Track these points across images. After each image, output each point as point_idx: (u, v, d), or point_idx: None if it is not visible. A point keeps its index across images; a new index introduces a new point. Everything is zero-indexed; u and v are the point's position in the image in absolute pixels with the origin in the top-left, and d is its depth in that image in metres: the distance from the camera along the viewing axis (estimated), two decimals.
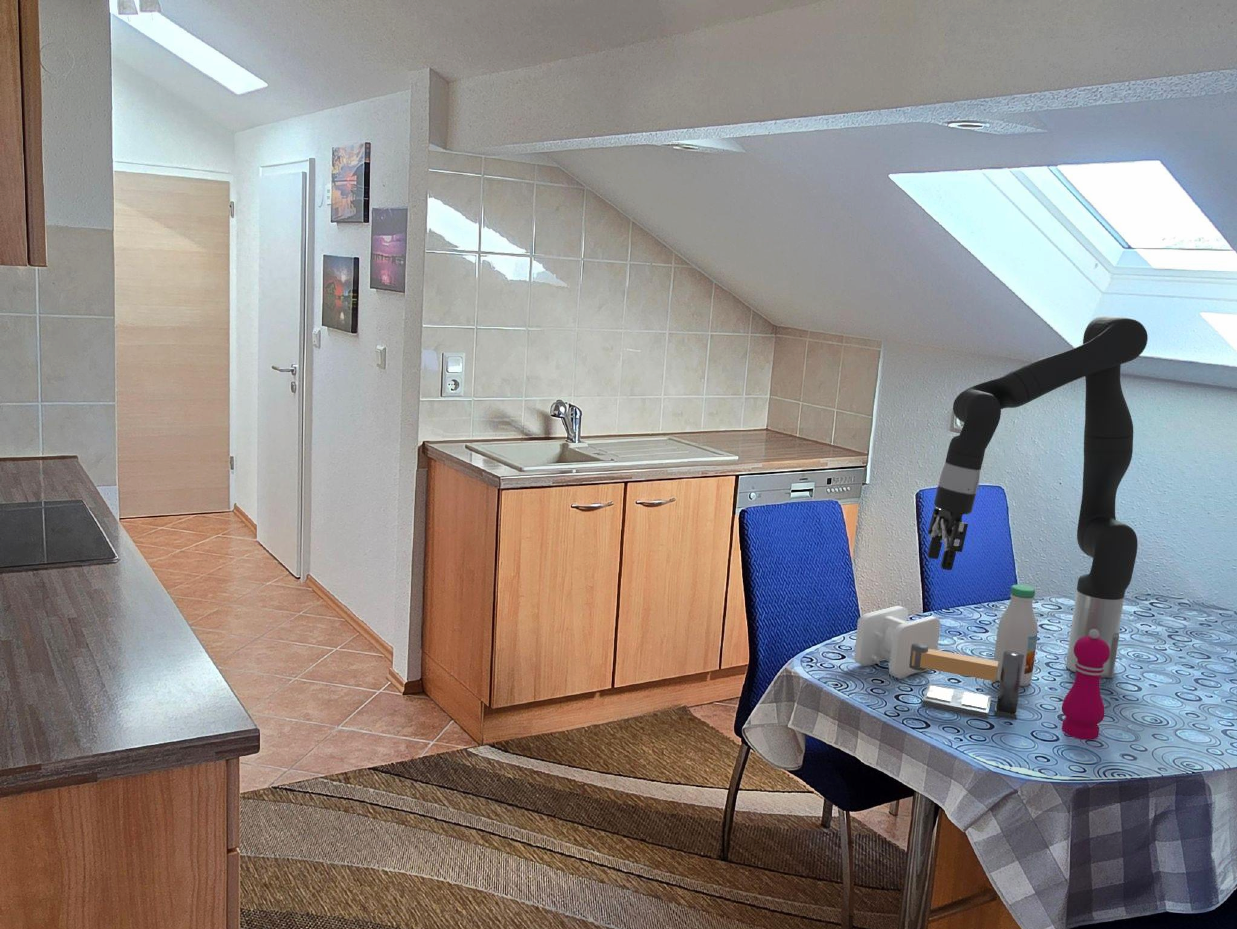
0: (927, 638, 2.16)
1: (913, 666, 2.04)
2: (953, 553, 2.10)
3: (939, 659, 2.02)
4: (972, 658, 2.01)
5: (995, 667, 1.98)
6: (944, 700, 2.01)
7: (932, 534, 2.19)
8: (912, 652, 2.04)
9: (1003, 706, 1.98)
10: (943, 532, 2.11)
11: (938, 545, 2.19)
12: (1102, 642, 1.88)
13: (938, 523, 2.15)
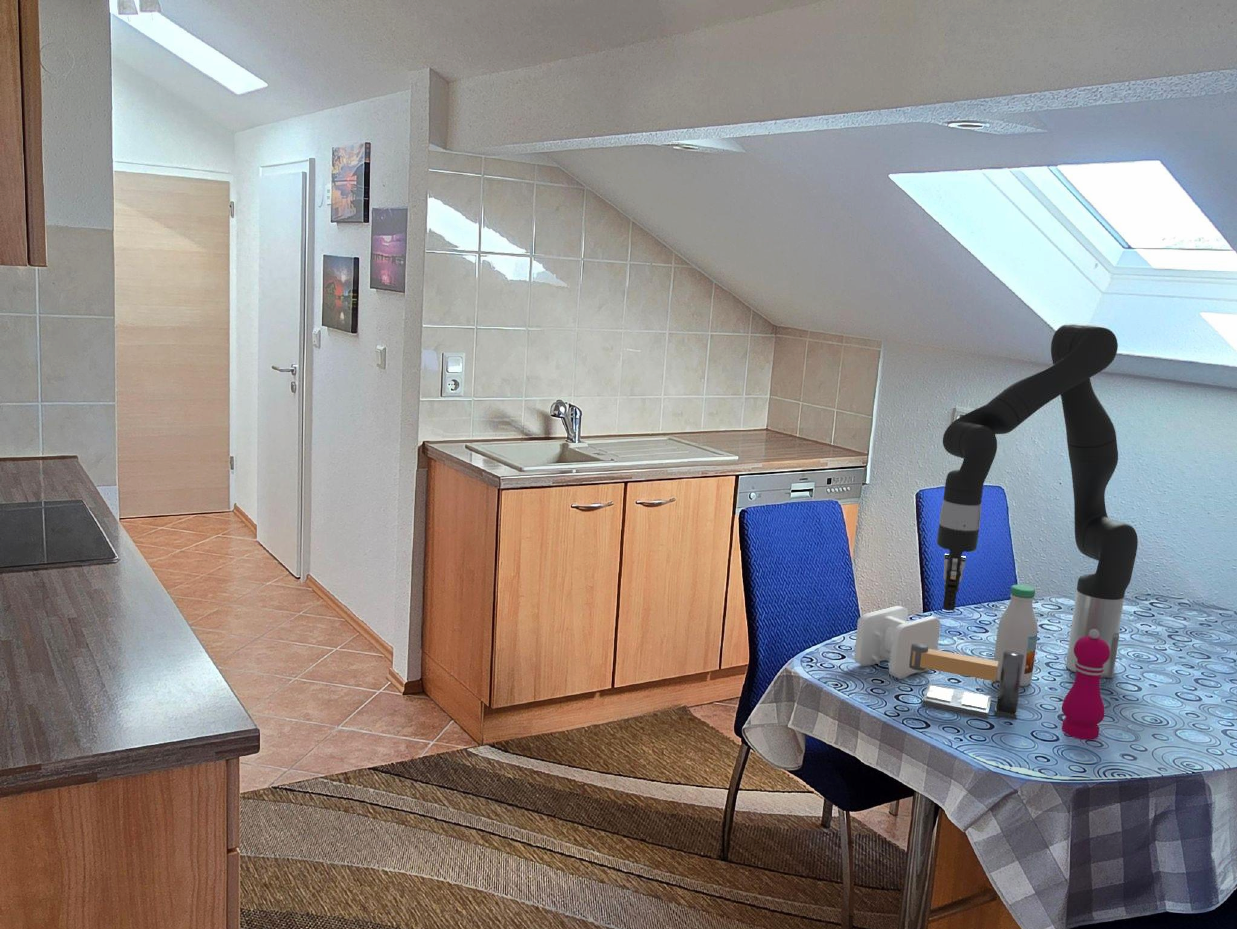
0: (927, 638, 2.16)
1: (913, 666, 2.04)
2: (952, 593, 2.06)
3: (939, 659, 2.02)
4: (972, 658, 2.01)
5: (995, 667, 1.98)
6: (944, 700, 2.01)
7: (945, 583, 2.08)
8: (912, 652, 2.04)
9: (1003, 706, 1.98)
10: (944, 572, 2.06)
11: None
12: (1102, 642, 1.88)
13: None
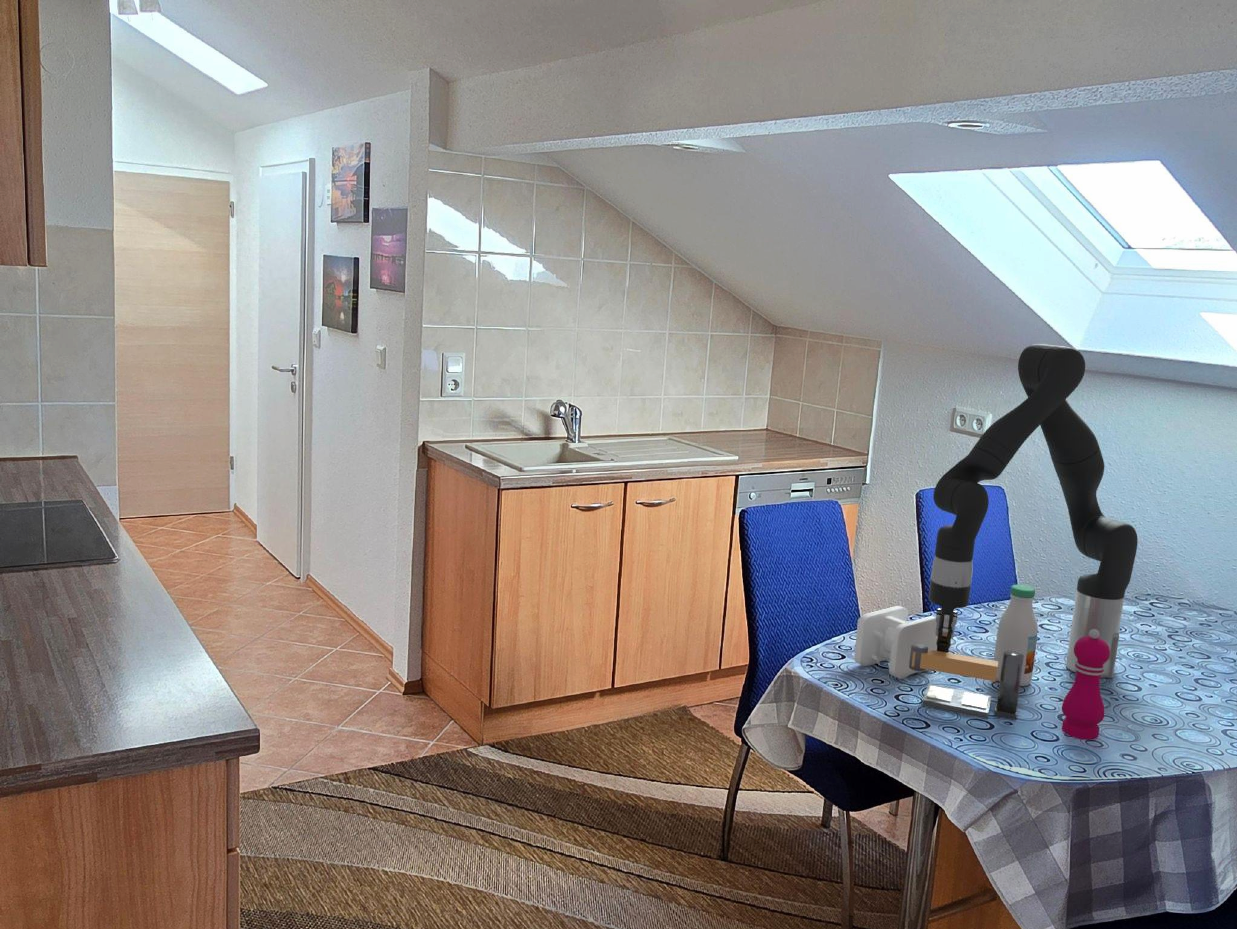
0: (927, 638, 2.16)
1: (913, 667, 2.03)
2: (944, 648, 2.05)
3: (939, 660, 2.01)
4: (972, 658, 2.01)
5: (995, 667, 1.98)
6: (944, 700, 2.01)
7: None
8: (912, 653, 2.03)
9: (1003, 706, 1.98)
10: (936, 627, 2.05)
11: None
12: (1102, 642, 1.88)
13: None
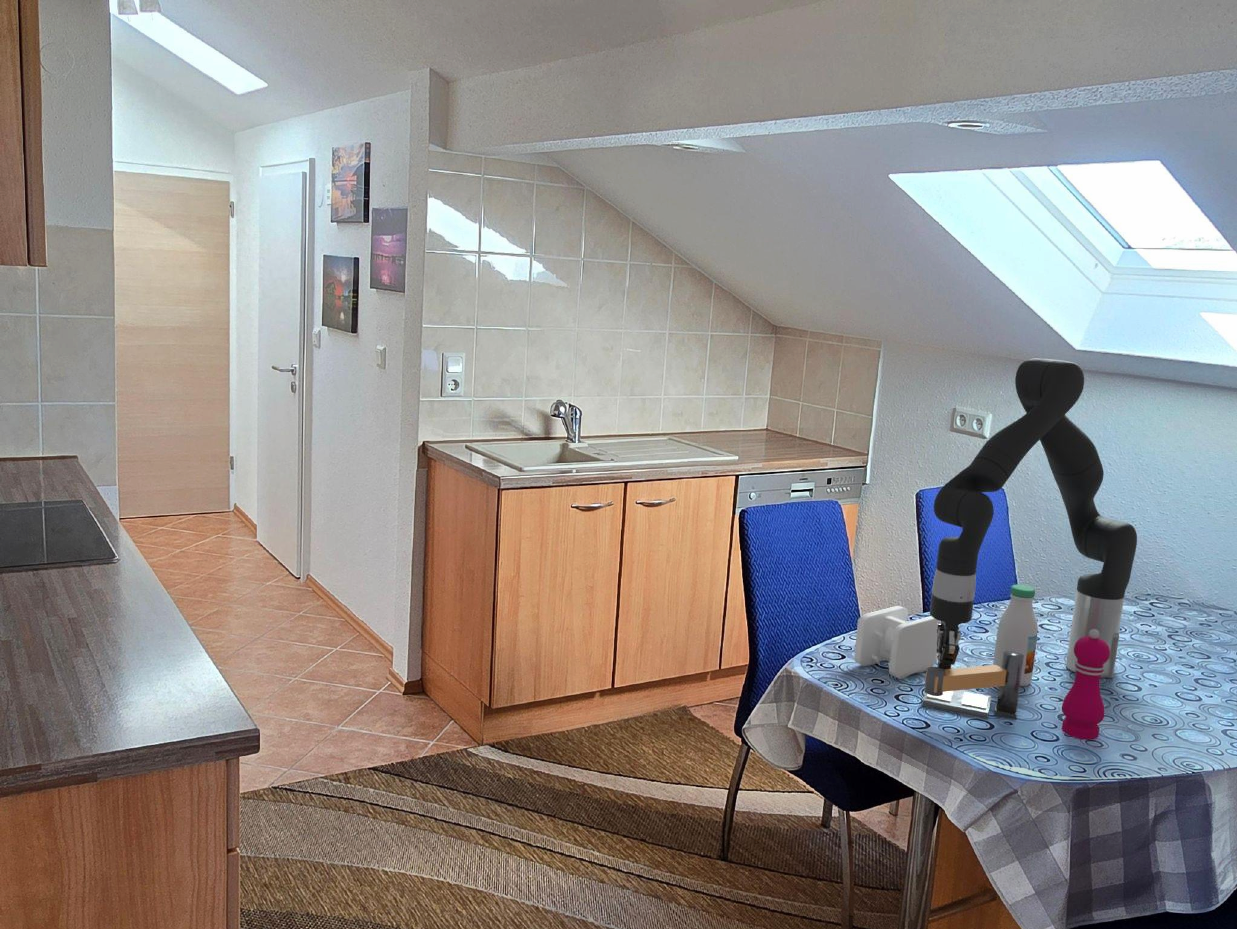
0: (927, 638, 2.16)
1: (936, 693, 1.91)
2: (947, 665, 1.96)
3: (959, 679, 1.92)
4: (978, 668, 1.96)
5: (1004, 672, 1.96)
6: (944, 700, 2.01)
7: (938, 654, 1.98)
8: (934, 678, 1.91)
9: (1003, 706, 1.98)
10: (938, 644, 1.96)
11: None
12: (1102, 642, 1.88)
13: None
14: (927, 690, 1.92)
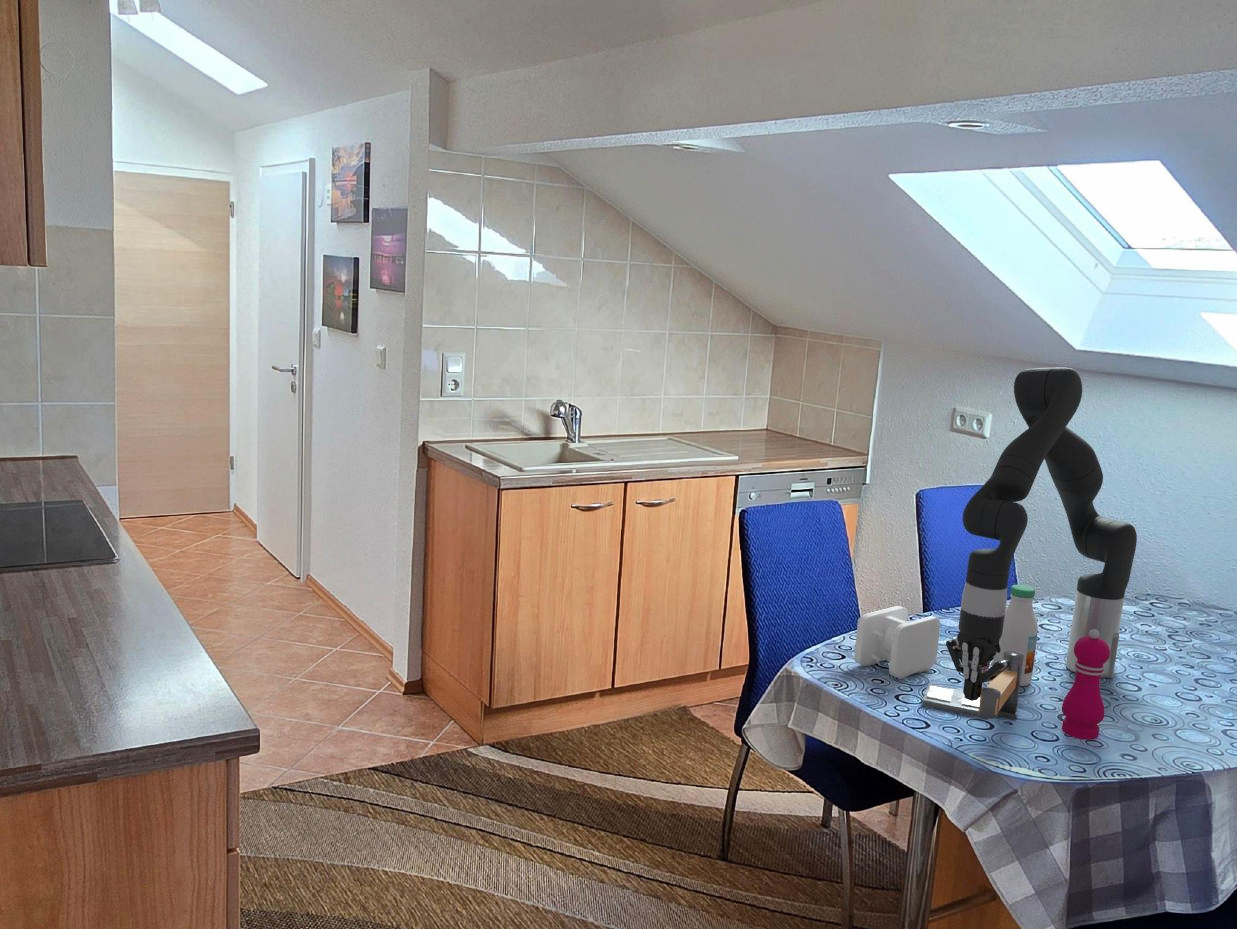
0: (927, 638, 2.16)
1: (996, 715, 1.83)
2: (981, 682, 1.89)
3: (1004, 694, 1.86)
4: (999, 677, 1.92)
5: (1016, 674, 1.95)
6: (944, 700, 2.01)
7: (968, 673, 1.89)
8: (995, 701, 1.82)
9: (1003, 706, 1.98)
10: (975, 663, 1.87)
11: None
12: (1102, 642, 1.88)
13: (968, 650, 1.88)
14: (987, 714, 1.83)
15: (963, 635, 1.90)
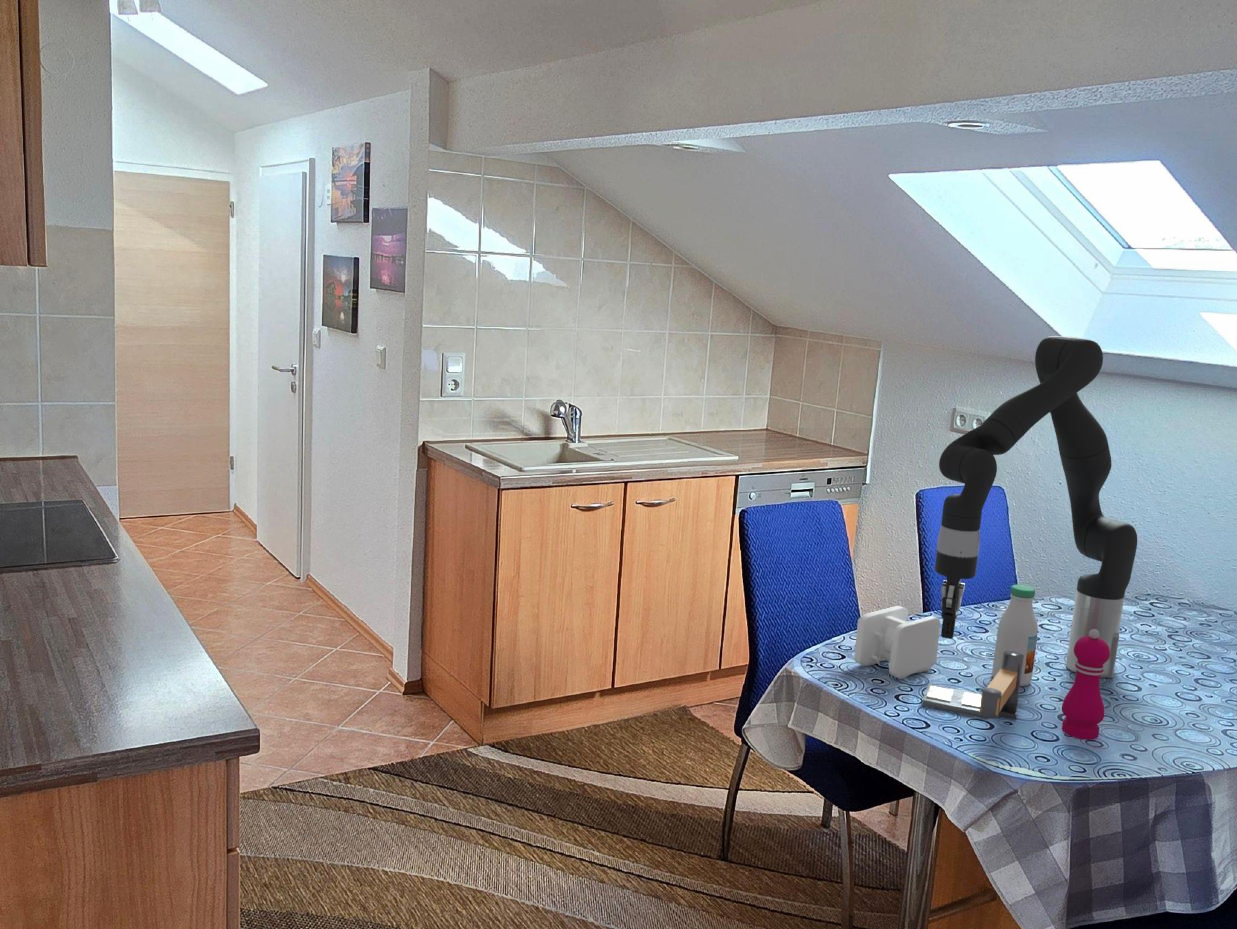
0: (927, 638, 2.16)
1: (997, 715, 1.83)
2: (950, 621, 2.00)
3: (1004, 694, 1.86)
4: (999, 677, 1.92)
5: None
6: (944, 700, 2.01)
7: None
8: (996, 701, 1.82)
9: (1003, 706, 1.98)
10: None
11: None
12: (1102, 642, 1.88)
13: None
14: (988, 714, 1.83)
15: None
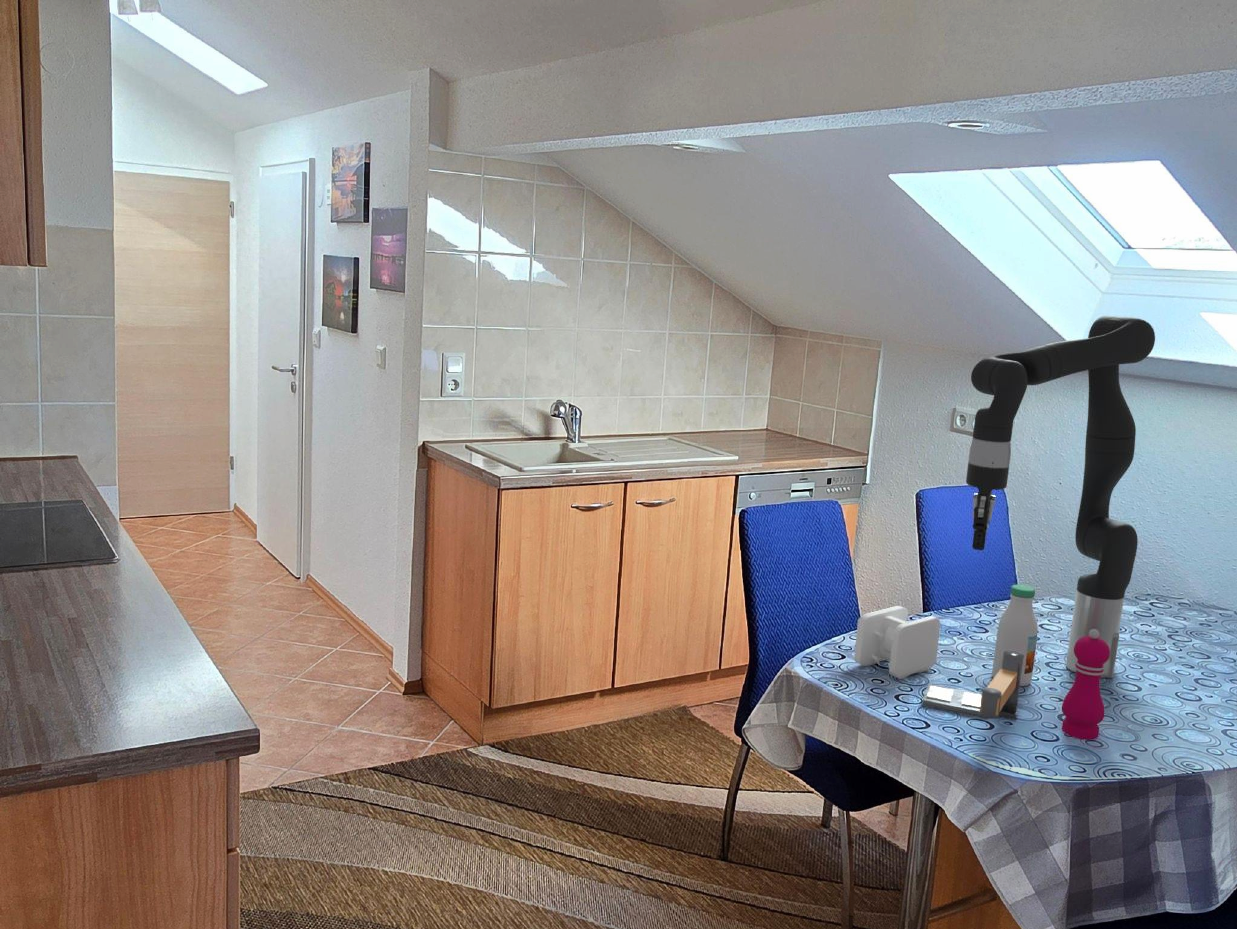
0: (927, 638, 2.16)
1: (997, 715, 1.83)
2: (981, 532, 2.04)
3: (1004, 694, 1.86)
4: (999, 677, 1.92)
5: None
6: (944, 700, 2.01)
7: None
8: (996, 701, 1.82)
9: (1003, 706, 1.98)
10: (973, 511, 2.04)
11: None
12: (1102, 642, 1.88)
13: None
14: (988, 714, 1.83)
15: None
